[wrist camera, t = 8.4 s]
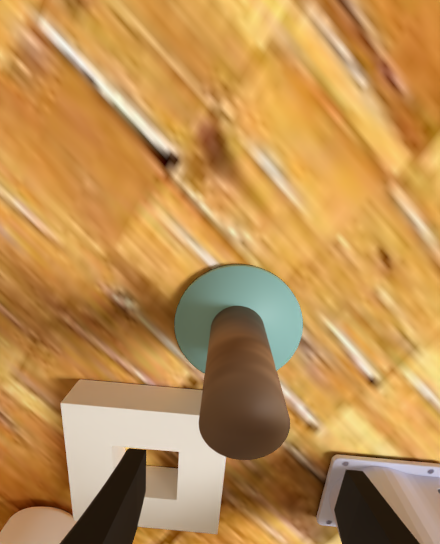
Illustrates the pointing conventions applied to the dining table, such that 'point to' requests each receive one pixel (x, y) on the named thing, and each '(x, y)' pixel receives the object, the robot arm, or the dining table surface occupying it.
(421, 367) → the dining table surface
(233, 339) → the walnut dowel
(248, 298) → the teal pad
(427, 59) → the dining table surface
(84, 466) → the block
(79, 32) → the dining table surface
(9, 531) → the beverage can
